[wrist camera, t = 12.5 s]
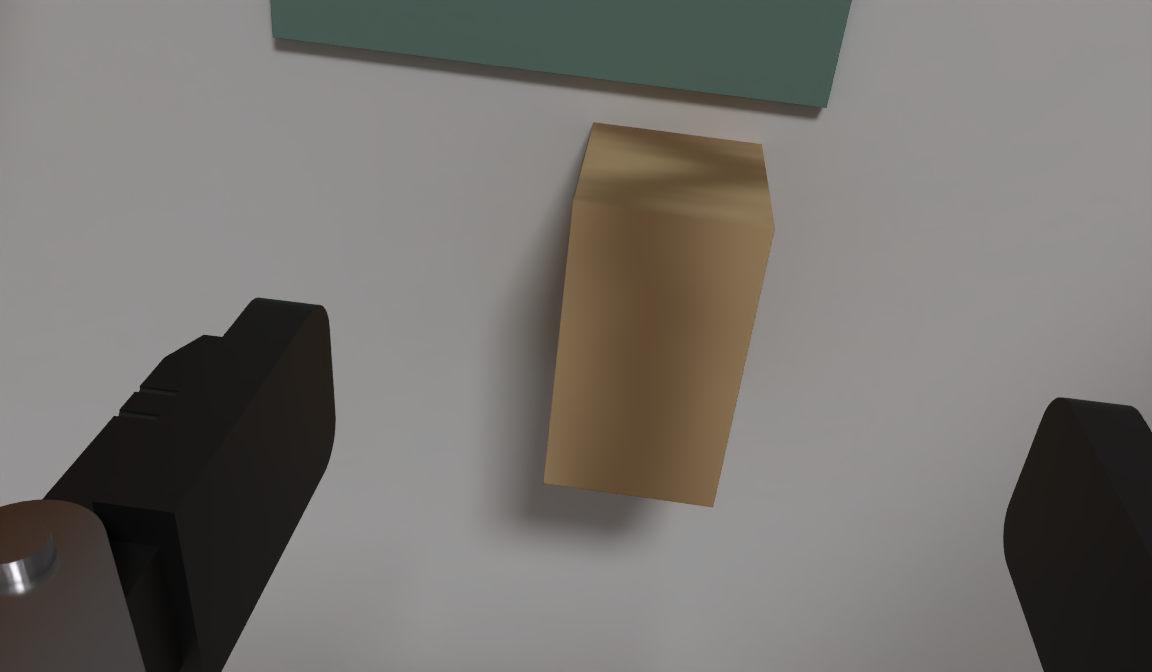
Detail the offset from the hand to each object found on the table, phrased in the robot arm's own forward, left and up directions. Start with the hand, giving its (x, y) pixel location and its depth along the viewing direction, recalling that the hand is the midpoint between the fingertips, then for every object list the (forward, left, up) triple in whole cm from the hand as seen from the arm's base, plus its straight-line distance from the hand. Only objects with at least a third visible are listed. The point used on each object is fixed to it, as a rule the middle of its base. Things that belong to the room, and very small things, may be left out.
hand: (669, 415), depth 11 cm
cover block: (0, +8, -20) cm, 21 cm away
